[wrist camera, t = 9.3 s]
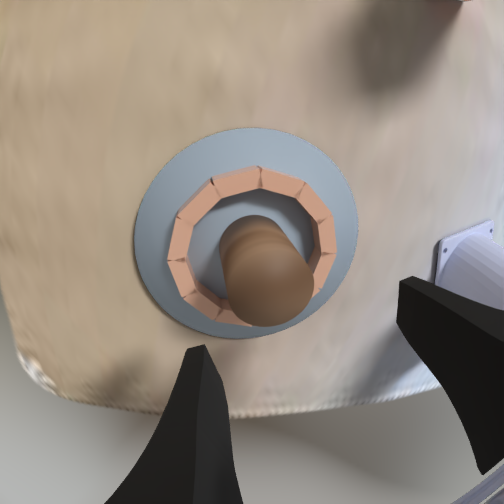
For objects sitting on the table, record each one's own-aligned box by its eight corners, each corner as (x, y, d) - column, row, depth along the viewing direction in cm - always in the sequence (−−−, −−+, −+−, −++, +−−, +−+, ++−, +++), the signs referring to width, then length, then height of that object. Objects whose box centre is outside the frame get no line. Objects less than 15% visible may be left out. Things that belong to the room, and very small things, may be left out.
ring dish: (358, 299, 22) (368, 313, 20) (181, 352, 21) (181, 369, 20) (339, 108, 16) (353, 108, 14) (103, 169, 15) (93, 175, 13)
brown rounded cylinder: (289, 266, 19) (317, 312, 15) (228, 283, 19) (239, 336, 14) (279, 207, 17) (308, 241, 13) (211, 225, 17) (217, 266, 12)
